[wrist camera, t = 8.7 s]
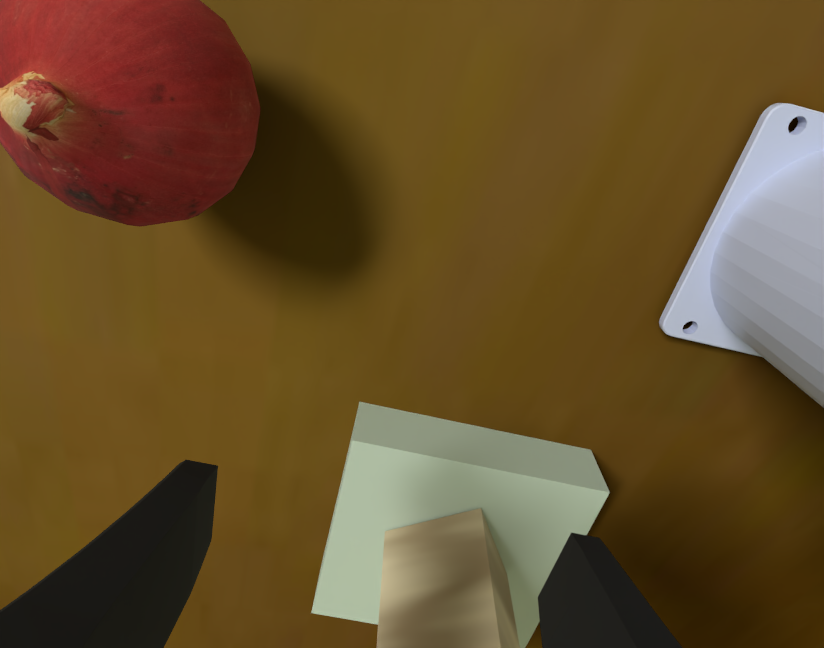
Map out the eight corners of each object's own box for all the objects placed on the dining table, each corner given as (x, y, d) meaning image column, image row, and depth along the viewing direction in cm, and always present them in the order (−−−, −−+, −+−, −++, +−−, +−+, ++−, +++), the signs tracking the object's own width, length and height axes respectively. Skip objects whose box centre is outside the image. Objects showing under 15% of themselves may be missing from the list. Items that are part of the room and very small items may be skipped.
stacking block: (587, 441, 22) (609, 492, 20) (513, 591, 27) (524, 649, 24) (361, 394, 21) (351, 440, 19) (323, 556, 26) (311, 612, 23)
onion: (271, 213, 18) (166, 310, 10) (98, 163, 17) (-140, 229, 10) (304, 25, 15) (196, -18, 8) (103, -42, 15) (-210, -154, 7)
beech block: (480, 508, 20) (503, 670, 15) (507, 573, 22) (535, 740, 16) (384, 531, 21) (373, 695, 15) (417, 592, 22) (417, 759, 17)
